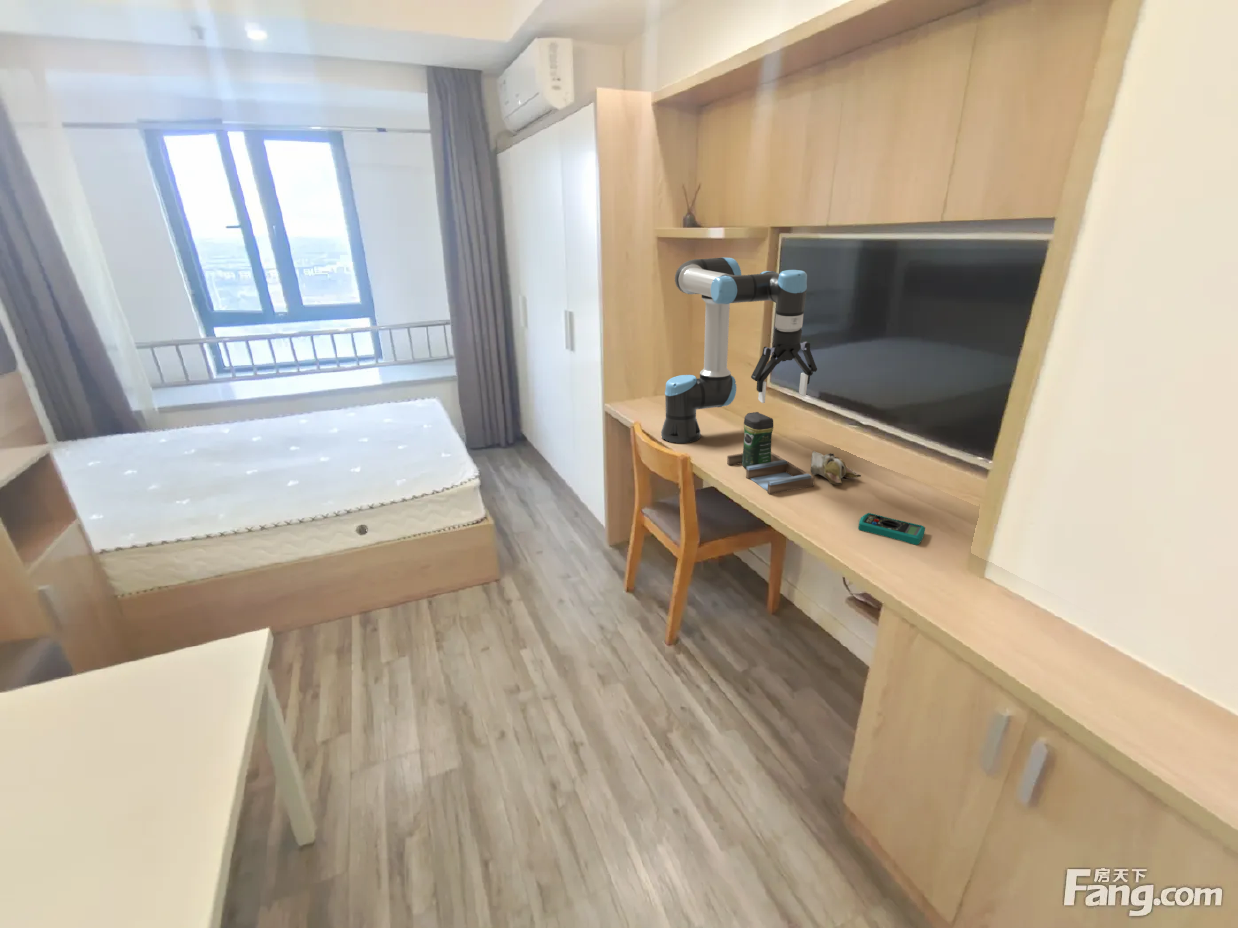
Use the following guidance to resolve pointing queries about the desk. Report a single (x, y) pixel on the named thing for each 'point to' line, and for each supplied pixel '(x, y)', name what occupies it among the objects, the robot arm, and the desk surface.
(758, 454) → the coffee jar
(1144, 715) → the desk surface
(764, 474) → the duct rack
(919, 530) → the digital multimeter
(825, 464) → the ceramic sculpture
